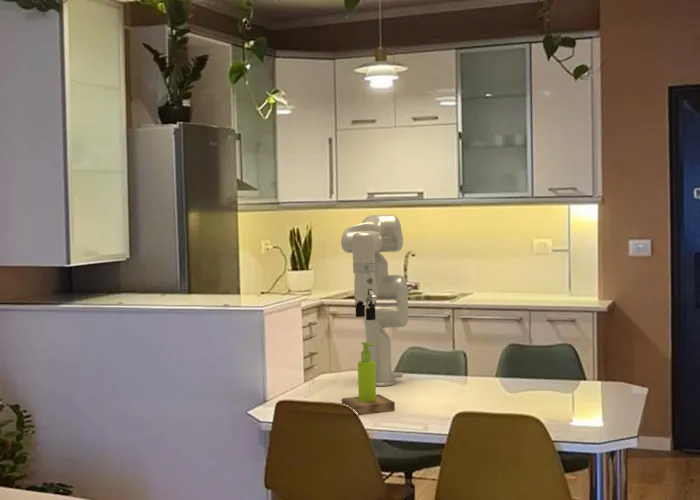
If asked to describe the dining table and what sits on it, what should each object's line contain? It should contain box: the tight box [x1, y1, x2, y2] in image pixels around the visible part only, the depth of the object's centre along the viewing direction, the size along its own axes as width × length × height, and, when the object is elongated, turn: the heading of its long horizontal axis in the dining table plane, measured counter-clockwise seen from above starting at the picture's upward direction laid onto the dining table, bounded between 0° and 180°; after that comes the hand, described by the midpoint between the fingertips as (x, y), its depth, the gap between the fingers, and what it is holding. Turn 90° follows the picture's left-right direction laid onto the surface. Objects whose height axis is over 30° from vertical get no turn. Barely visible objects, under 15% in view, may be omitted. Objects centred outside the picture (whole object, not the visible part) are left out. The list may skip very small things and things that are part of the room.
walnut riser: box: [341, 394, 396, 416], centre depth 309 cm, size 14×14×3 cm
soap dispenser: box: [357, 341, 377, 402], centre depth 308 cm, size 6×7×20 cm
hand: (365, 318), depth 307 cm, fingers open, 9 cm apart
